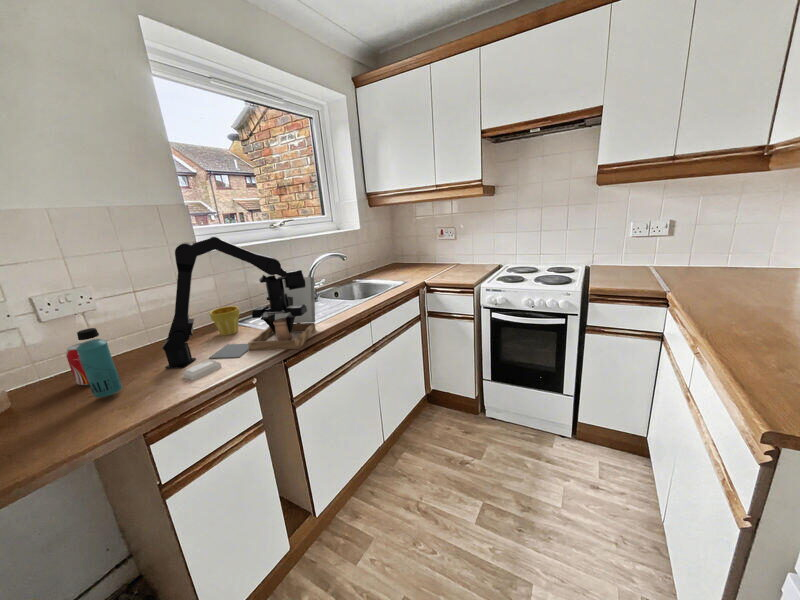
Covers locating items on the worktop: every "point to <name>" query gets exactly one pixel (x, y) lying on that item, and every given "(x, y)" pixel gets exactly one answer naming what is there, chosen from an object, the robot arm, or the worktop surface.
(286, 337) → the clay pot
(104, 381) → the beverage bottle
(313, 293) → the lid
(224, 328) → the plant pot
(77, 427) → the worktop surface
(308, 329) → the wooden tray
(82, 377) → the soda can
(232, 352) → the grey mat
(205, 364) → the soap bar
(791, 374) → the worktop surface
